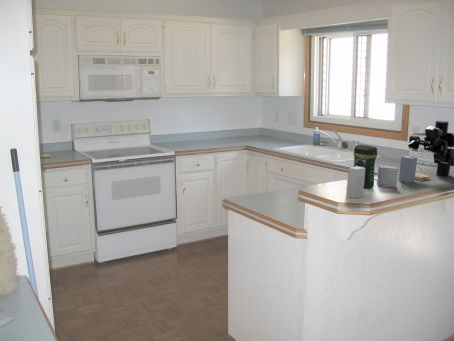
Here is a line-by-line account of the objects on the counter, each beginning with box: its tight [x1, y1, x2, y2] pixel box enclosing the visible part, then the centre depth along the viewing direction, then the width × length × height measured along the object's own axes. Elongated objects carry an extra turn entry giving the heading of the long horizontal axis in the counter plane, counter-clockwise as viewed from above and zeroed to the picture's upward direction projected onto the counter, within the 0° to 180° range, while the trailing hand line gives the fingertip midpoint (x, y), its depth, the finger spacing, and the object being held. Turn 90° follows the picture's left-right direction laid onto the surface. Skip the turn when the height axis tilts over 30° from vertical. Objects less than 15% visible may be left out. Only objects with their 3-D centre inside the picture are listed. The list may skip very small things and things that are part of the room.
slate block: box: [398, 155, 418, 183], centre depth 228 cm, size 5×5×12 cm
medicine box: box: [376, 165, 400, 188], centre depth 220 cm, size 8×4×9 cm, turn 84°
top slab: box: [415, 172, 431, 182], centre depth 235 cm, size 7×7×2 cm
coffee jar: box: [353, 144, 378, 190], centre depth 215 cm, size 10×8×19 cm
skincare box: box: [345, 166, 365, 199], centre depth 199 cm, size 6×4×12 cm
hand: (417, 147), depth 227 cm, fingers open, 9 cm apart
